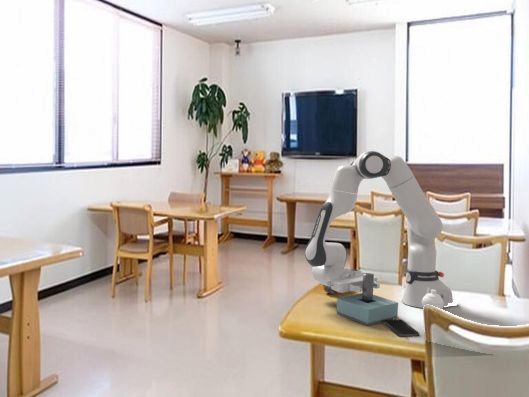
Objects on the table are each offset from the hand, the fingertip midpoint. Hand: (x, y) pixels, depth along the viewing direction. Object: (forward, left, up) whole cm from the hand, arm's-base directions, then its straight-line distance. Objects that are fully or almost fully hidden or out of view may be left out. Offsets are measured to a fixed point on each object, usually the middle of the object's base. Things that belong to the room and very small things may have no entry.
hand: (369, 288), depth 188 cm
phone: (-6, +14, -12) cm, 19 cm away
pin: (0, -1, -10) cm, 10 cm away
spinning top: (-21, +9, -11) cm, 25 cm away
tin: (0, -34, -11) cm, 36 cm away
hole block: (0, -1, -11) cm, 11 cm away
